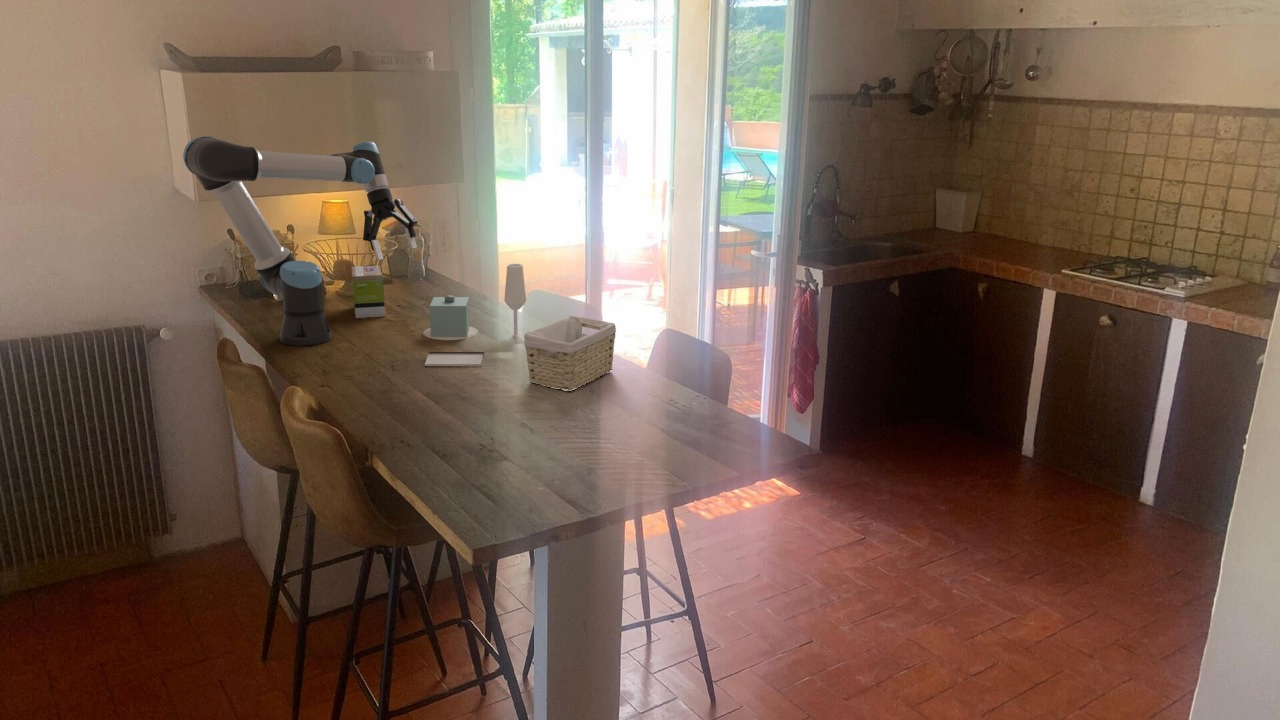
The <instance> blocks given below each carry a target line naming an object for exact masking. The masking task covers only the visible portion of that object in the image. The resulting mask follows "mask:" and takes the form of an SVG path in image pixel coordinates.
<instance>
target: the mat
mask: <svg viewBox="0 0 1280 720" xmlns="http://www.w3.org/2000/svg"><path fill="white" fill-rule="evenodd" d="M484 355H485V351H429V352H428V354H427V357H426V359H425V363H424V367H425V366H470V368H473V367H474V366H476V367H480V366H481V367H482V365H483V361H484V360H483V359H484ZM472 366H473V367H472Z"/></svg>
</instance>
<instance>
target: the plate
mask: <svg viewBox="0 0 1280 720" xmlns="http://www.w3.org/2000/svg"><path fill="white" fill-rule="evenodd" d="M422 333H423V336H425V337H427V338H429V339H433V340H437V341H438V340H439V341H440V340H441V341H457V340H458V341H459V340H464V339H469V338H471V337H472V338H473V337H474V336H476V335H478V334H479V330H478V329H477V328H475V327H472V326H470V328H469V332H468V335H467V337H431V327H428V328H426V329H425V330H424V331H423V332H422Z"/></svg>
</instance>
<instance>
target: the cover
mask: <svg viewBox="0 0 1280 720" xmlns="http://www.w3.org/2000/svg"><path fill="white" fill-rule="evenodd" d="M429 322H430V328H431V337H467V335H468V332H469V328H470V327H471V325H470V324H471V322H470V297H469V296H454V295H453V294H452V295H451V294H450V295H449V294H448V295H444V296H434V297H433V298H432V301H431V303H430V304H429Z"/></svg>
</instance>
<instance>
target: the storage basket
mask: <svg viewBox="0 0 1280 720" xmlns="http://www.w3.org/2000/svg"><path fill="white" fill-rule="evenodd" d="M583 327H584V328H588V329H592V330H593V329H594V330H596V331H595V332H593V333H590V334H585V333H583ZM616 333H617V328H616V324H615V323H614V322H610V321H609V322H608V321H604V320H599V319H594V318H589V317H585V316H584V317H583V316H578V315H577V316H576V315H570V316H567V317H564V318H561V319H559V320H556V321H553V322H551V323H548V324H546V325H544V326H541V327H538V328H535V329H532V330H530V331H527V332H526V333H524V335H523V338H524V339H525V341H524V342H523V344H524V347H525V353H526V362H527V370H528V375H529V376H528V378H529V382H530V383H531V382H532V383H536V384H540V385H545V386H548V387H554V388H560V389H568V390H572V389H574V388H577V387H579V386H582V385H584V384H585V383H588V384H590V383H591V382H590V381H592V382H593V381H595V379H596V378H598V377H599V378H601V377H600V376H602V375H603V376H605V375H607V374H606V373H607V372H609V371H610V370H612V371H613V361H614V351H615V349H614V347H615V341H616V340H615V339H616ZM609 373H610V372H609ZM604 374H605V375H604ZM603 376H602V377H603ZM599 378H598V379H599ZM596 380H597V379H596ZM589 382H590V383H589ZM532 383H531V384H532ZM540 385H539V386H540ZM545 386H544V387H545ZM584 386H585V385H584ZM582 387H583V386H582Z"/></svg>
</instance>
